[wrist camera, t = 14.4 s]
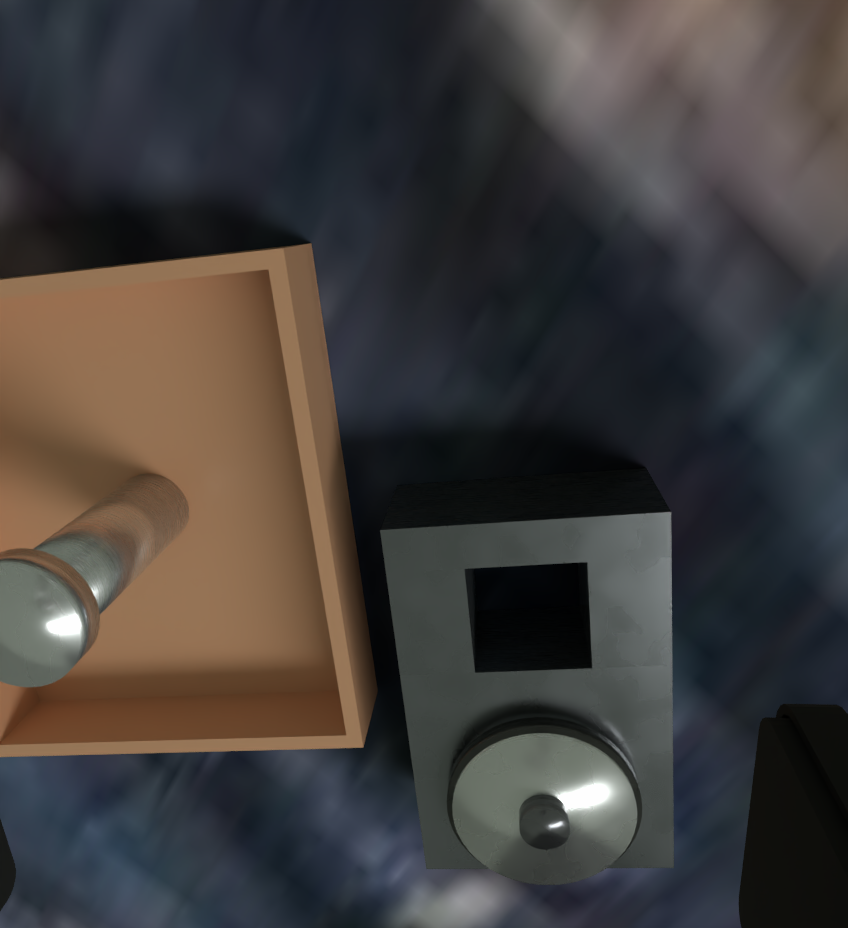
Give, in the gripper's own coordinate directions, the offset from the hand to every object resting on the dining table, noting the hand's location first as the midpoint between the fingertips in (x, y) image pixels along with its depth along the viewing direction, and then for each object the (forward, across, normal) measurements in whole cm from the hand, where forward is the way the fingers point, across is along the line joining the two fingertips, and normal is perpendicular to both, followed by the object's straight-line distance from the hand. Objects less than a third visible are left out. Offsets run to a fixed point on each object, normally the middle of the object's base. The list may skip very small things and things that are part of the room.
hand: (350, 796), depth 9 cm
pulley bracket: (+30, -3, +18) cm, 35 cm away
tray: (+30, +18, +9) cm, 36 cm away
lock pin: (+29, +17, +9) cm, 35 cm away
